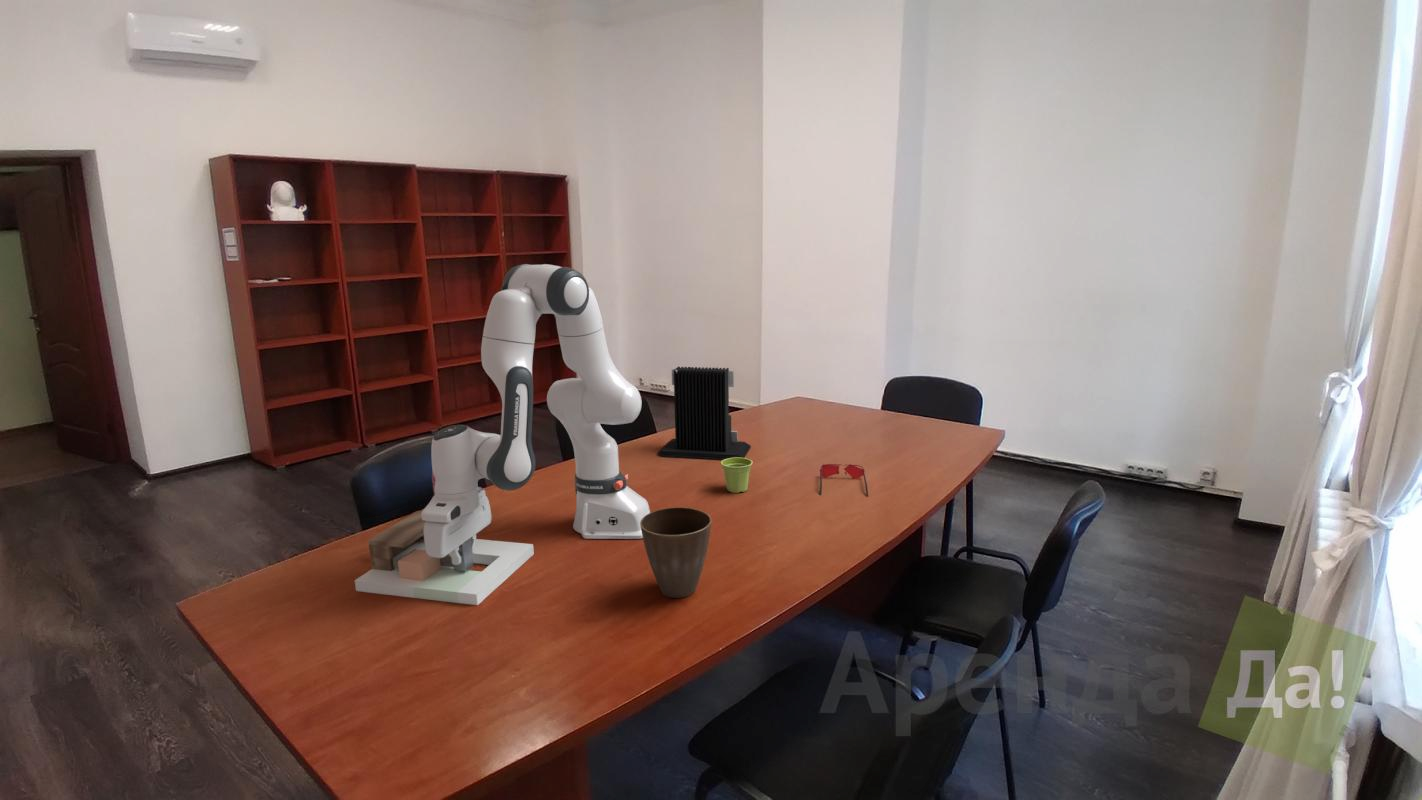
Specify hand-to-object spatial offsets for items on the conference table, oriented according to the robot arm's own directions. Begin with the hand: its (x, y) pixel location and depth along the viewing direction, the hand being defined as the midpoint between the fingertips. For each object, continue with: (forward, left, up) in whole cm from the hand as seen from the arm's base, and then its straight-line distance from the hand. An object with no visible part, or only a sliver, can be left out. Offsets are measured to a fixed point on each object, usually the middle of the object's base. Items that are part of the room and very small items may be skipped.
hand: (463, 559), depth 159 cm
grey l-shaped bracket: (+6, +2, -2) cm, 7 cm away
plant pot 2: (-48, -69, -5) cm, 84 cm away
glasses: (-78, -78, -6) cm, 111 cm away
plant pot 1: (-48, -6, -5) cm, 48 cm away
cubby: (+16, -5, -3) cm, 17 cm away
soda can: (+27, -36, -5) cm, 45 cm away
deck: (+6, -3, -5) cm, 9 cm away
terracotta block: (+9, +3, -3) cm, 10 cm away
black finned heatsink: (-29, -105, -6) cm, 109 cm away
